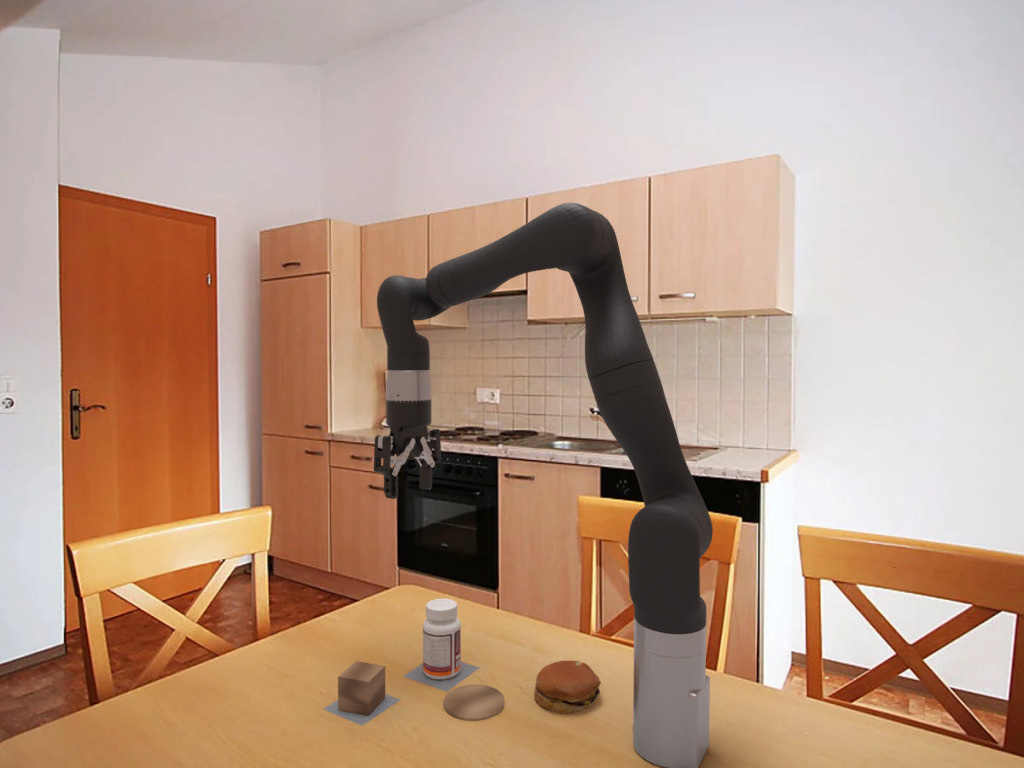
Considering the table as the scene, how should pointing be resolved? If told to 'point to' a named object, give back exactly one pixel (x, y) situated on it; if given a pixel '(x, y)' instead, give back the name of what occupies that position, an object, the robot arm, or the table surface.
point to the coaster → (473, 702)
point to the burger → (566, 686)
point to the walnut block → (361, 688)
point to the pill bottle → (441, 640)
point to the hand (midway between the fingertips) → (409, 493)
